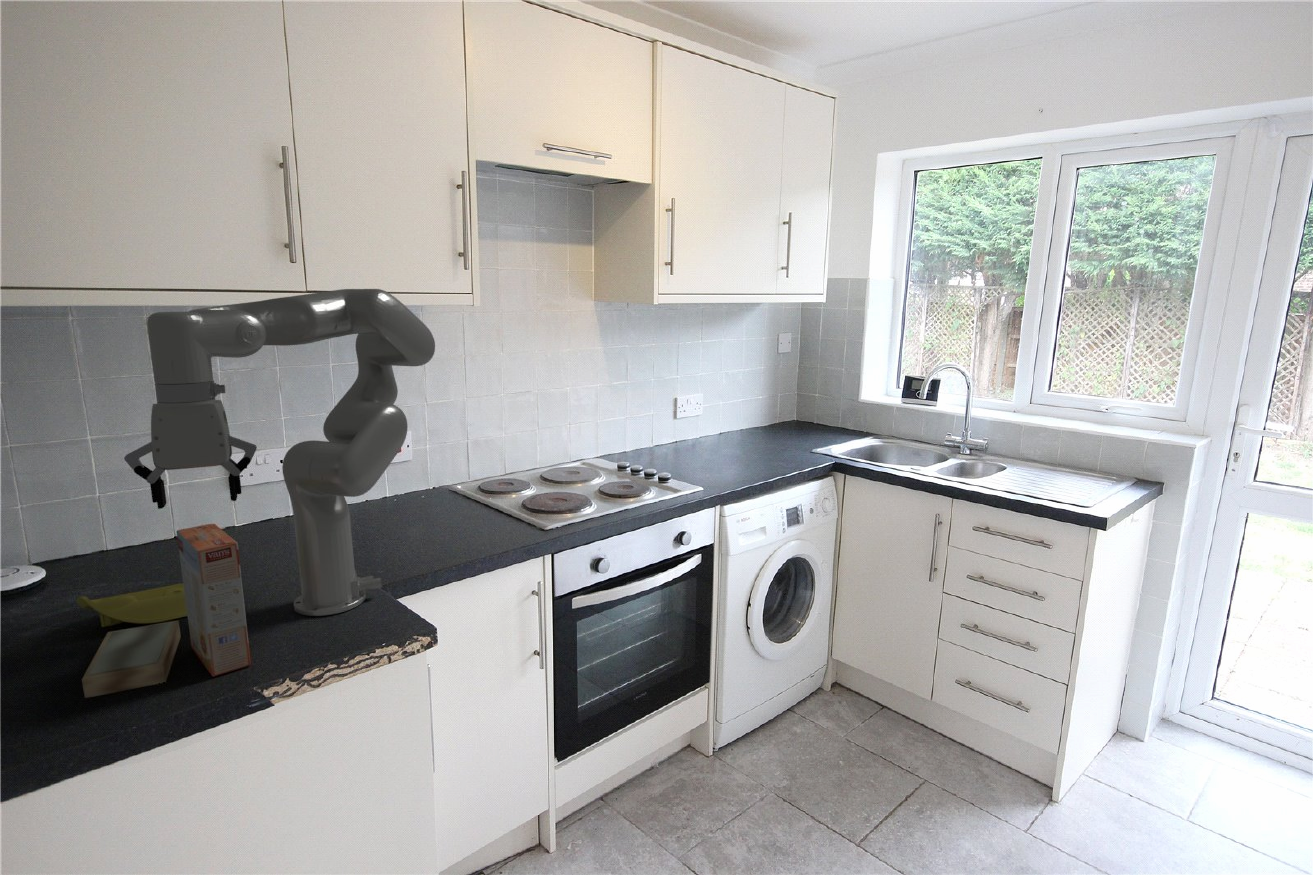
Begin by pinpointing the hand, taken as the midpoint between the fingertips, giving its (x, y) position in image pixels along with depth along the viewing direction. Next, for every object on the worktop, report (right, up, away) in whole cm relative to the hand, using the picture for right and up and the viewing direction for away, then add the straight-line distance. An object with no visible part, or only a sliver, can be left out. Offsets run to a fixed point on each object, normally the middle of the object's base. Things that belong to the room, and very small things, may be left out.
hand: (199, 502), depth 114 cm
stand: (-12, -26, +3) cm, 29 cm away
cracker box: (0, -26, +5) cm, 27 cm away
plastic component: (-22, -23, +21) cm, 39 cm away
